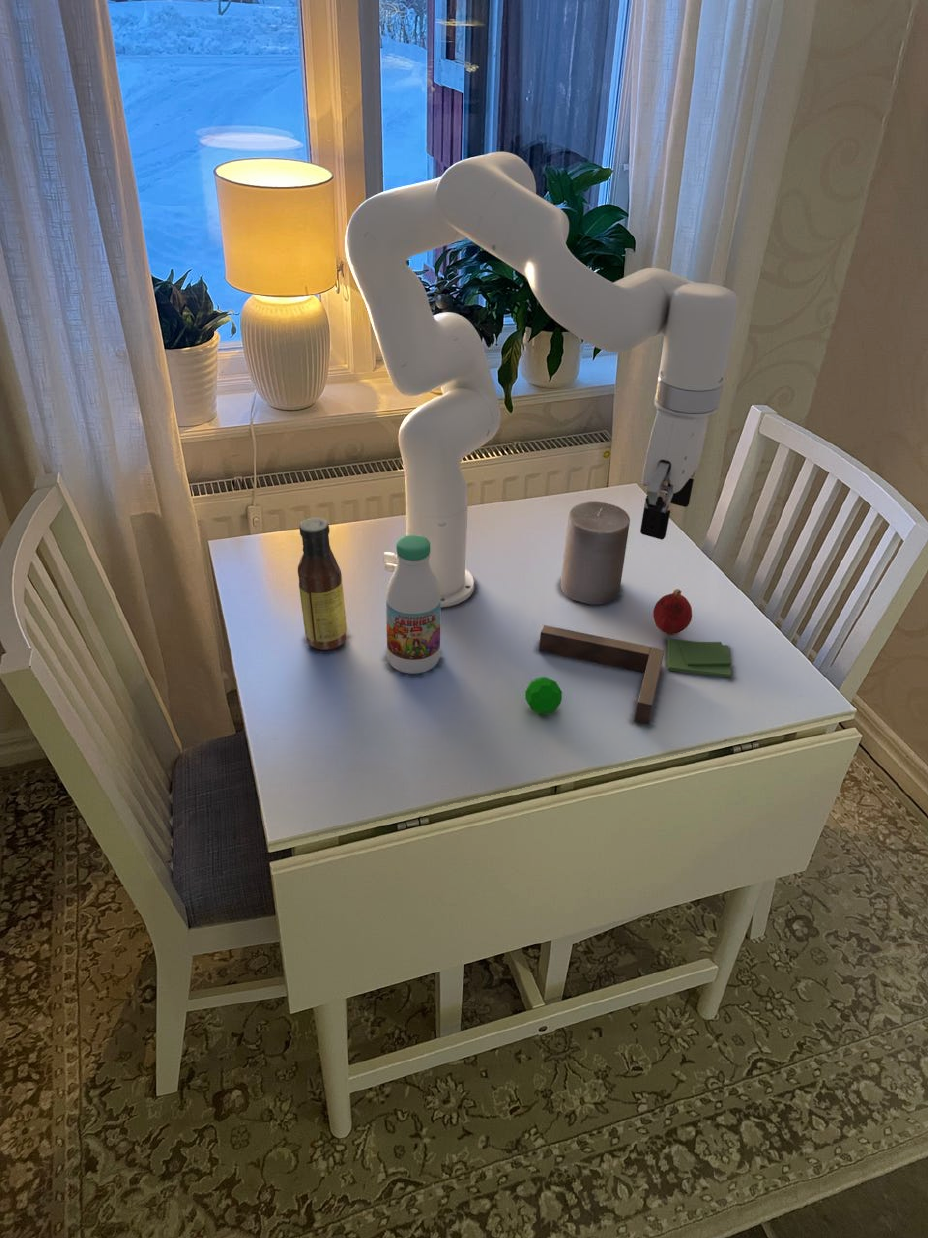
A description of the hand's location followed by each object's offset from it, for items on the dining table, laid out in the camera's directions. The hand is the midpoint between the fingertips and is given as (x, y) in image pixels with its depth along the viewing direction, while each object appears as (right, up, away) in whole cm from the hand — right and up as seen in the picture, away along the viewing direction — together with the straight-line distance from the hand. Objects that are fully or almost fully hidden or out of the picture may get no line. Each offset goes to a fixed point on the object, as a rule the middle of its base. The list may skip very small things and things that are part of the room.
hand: (664, 519), depth 121 cm
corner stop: (-8, -22, +13) cm, 27 cm away
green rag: (+9, -19, +18) cm, 27 cm away
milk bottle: (-34, -19, +16) cm, 42 cm away
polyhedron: (-15, -26, +8) cm, 31 cm away
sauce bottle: (-47, -16, +19) cm, 53 cm away
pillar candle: (-5, -8, +32) cm, 34 cm away
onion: (+6, -15, +23) cm, 28 cm away
